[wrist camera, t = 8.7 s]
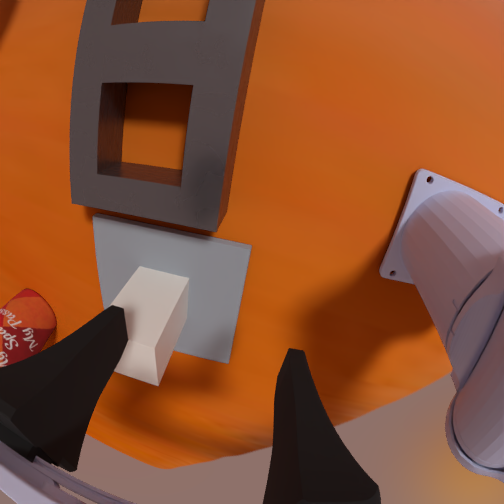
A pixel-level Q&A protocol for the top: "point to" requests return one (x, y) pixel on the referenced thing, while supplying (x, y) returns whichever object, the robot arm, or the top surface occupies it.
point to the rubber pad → (182, 264)
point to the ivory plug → (151, 322)
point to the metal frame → (161, 71)
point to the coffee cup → (24, 326)
